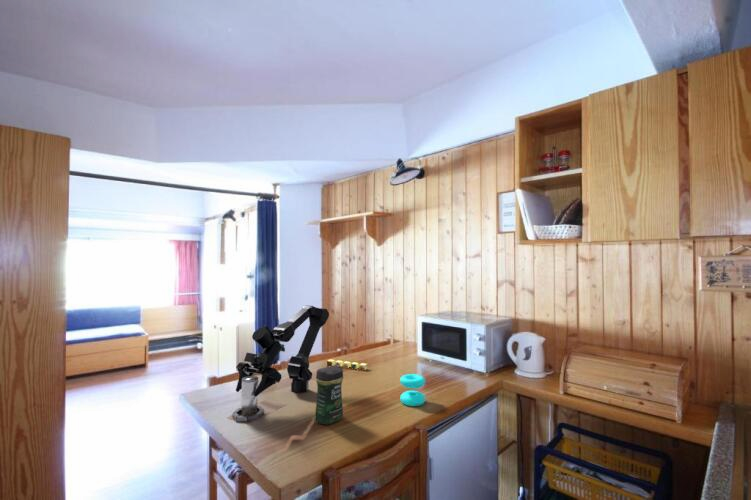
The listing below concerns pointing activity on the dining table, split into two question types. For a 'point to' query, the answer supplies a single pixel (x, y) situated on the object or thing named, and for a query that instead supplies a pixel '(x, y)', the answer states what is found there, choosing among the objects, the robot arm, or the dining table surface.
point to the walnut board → (265, 409)
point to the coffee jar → (329, 395)
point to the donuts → (412, 396)
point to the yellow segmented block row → (347, 364)
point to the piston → (249, 396)
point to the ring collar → (247, 418)
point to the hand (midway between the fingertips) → (245, 393)
